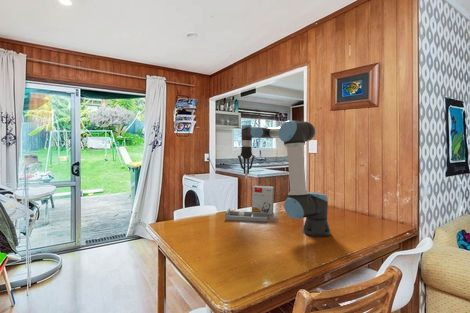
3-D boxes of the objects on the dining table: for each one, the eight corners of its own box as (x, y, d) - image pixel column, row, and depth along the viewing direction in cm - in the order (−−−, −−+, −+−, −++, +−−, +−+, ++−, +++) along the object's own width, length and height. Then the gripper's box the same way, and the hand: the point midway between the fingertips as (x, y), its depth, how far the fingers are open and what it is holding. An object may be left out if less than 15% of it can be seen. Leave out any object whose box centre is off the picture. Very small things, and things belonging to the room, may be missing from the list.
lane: (267, 216, 182) (267, 209, 182) (267, 222, 168) (267, 214, 168) (228, 214, 186) (228, 208, 186) (225, 220, 173) (225, 213, 172)
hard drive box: (251, 213, 191) (251, 186, 190) (253, 210, 198) (253, 185, 198) (272, 215, 187) (272, 187, 186) (273, 212, 194) (274, 186, 193)
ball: (244, 212, 182) (240, 209, 181) (246, 214, 178) (241, 210, 177) (241, 217, 181) (236, 213, 181) (242, 218, 178) (238, 215, 177)
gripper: (255, 146, 190) (255, 177, 191) (238, 146, 192) (238, 177, 193) (255, 146, 183) (254, 179, 184) (236, 146, 185) (236, 178, 186)
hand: (246, 178), depth 188 cm, fingers closed
